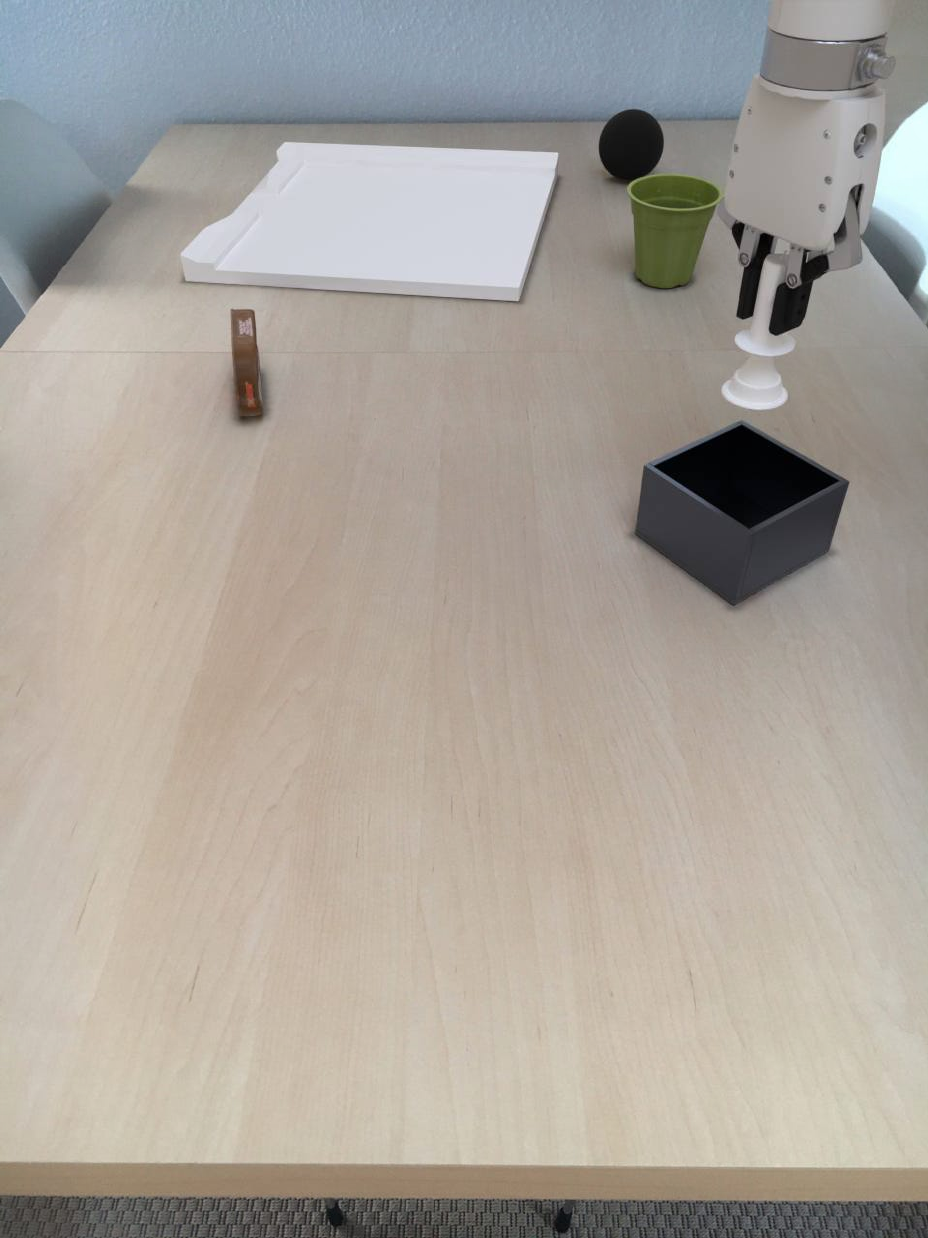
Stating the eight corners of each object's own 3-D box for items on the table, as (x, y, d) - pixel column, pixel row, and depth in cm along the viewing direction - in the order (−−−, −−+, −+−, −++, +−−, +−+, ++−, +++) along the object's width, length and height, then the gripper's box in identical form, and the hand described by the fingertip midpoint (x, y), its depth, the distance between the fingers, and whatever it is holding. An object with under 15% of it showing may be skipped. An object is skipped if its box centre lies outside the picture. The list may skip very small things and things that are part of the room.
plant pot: (626, 299, 126) (635, 209, 118) (612, 260, 134) (620, 174, 127) (718, 296, 126) (733, 206, 118) (699, 257, 135) (712, 171, 127)
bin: (728, 487, 96) (741, 419, 91) (829, 551, 89) (850, 481, 83) (634, 534, 91) (643, 465, 86) (733, 606, 83) (749, 535, 78)
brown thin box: (237, 364, 116) (224, 295, 110) (264, 361, 116) (253, 292, 110) (240, 432, 105) (225, 360, 99) (270, 429, 105) (257, 357, 99)
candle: (758, 372, 84) (786, 231, 76) (801, 400, 81) (835, 256, 73) (707, 388, 83) (731, 246, 74) (749, 417, 79) (778, 272, 71)
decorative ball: (588, 185, 155) (592, 116, 148) (606, 164, 162) (611, 97, 155) (650, 193, 152) (658, 123, 145) (666, 171, 159) (674, 103, 152)
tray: (518, 301, 126) (519, 273, 123) (185, 280, 132) (179, 254, 130) (557, 176, 158) (558, 152, 156) (288, 164, 165) (284, 141, 162)
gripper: (964, 75, 61) (885, 347, 74) (766, 27, 71) (726, 274, 84) (886, 98, 58) (818, 378, 71) (691, 44, 68) (661, 298, 81)
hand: (768, 319), depth 77 cm, fingers closed on candle, 2 cm apart
